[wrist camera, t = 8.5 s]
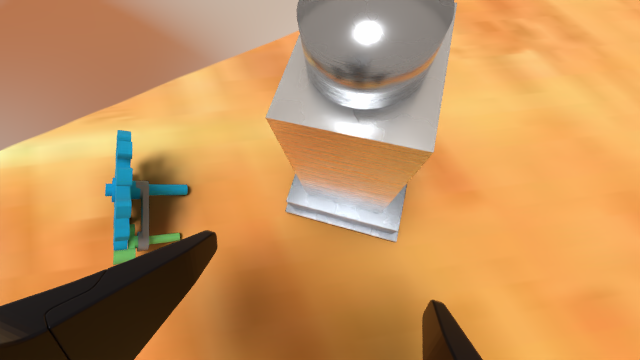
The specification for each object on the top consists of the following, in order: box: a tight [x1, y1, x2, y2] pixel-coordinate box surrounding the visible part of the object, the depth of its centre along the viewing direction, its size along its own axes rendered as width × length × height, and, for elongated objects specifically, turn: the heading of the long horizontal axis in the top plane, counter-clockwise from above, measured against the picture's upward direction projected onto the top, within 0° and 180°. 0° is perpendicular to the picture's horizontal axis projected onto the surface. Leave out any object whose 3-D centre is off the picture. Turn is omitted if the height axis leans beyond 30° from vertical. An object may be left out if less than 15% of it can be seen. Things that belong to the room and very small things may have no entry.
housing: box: [266, 0, 457, 214], centre depth 13 cm, size 7×6×13 cm
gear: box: [105, 130, 188, 265], centre depth 21 cm, size 11×6×10 cm
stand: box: [286, 174, 407, 242], centre depth 21 cm, size 10×10×3 cm
